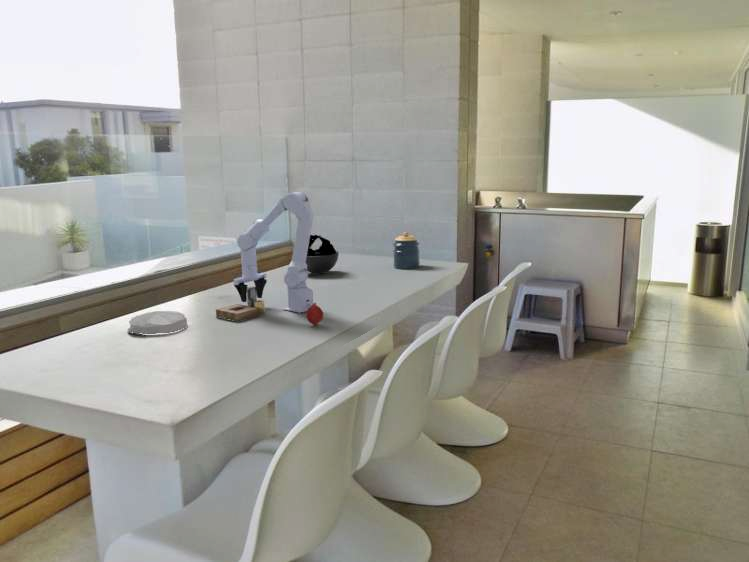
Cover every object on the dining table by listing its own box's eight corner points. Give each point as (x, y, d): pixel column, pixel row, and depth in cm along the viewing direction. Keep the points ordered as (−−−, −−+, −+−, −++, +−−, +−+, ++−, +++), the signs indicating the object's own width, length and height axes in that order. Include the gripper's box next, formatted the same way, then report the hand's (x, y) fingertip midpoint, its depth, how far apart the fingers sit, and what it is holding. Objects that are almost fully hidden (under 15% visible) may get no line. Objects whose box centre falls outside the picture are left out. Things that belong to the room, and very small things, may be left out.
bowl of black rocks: (301, 270, 330) (299, 233, 326) (341, 269, 329) (339, 231, 325) (295, 278, 310) (292, 238, 306) (337, 277, 309) (335, 237, 305)
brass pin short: (266, 312, 246) (265, 301, 245) (259, 314, 243) (258, 303, 242) (260, 311, 248) (259, 299, 247) (253, 313, 245) (252, 301, 245)
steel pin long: (259, 307, 255) (257, 287, 253) (251, 309, 252) (250, 289, 250) (253, 306, 257) (251, 286, 255) (245, 308, 254) (244, 287, 253)
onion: (308, 328, 222) (306, 305, 221) (305, 324, 228) (304, 301, 226) (325, 326, 224) (324, 303, 222) (321, 322, 229) (320, 300, 228)
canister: (390, 266, 333) (389, 231, 329) (414, 263, 336) (413, 229, 333) (398, 270, 321) (397, 234, 317) (423, 268, 324) (423, 232, 321)
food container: (185, 320, 242) (183, 302, 241) (190, 332, 223) (188, 312, 222) (127, 327, 235) (125, 308, 234) (128, 340, 217) (125, 320, 215)
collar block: (258, 315, 242) (258, 307, 241) (237, 322, 234) (236, 313, 233) (238, 311, 249) (237, 303, 248) (216, 317, 242) (215, 309, 241)
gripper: (257, 261, 259) (259, 294, 262) (227, 267, 248) (230, 302, 251) (269, 262, 254) (271, 297, 257) (239, 268, 244) (242, 304, 246)
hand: (251, 299), depth 254 cm, fingers open, 7 cm apart
